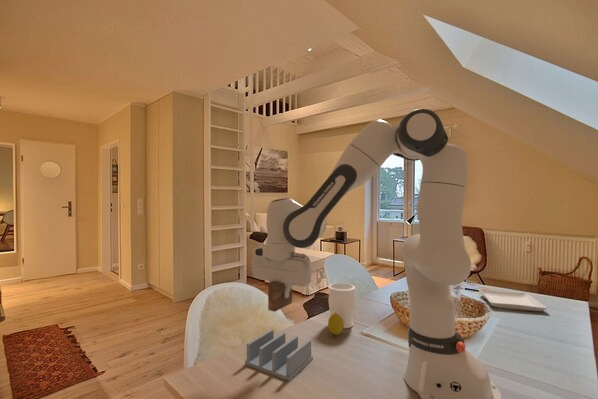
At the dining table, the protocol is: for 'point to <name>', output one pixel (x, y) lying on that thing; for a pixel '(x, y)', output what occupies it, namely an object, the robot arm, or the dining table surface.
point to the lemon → (335, 324)
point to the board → (277, 296)
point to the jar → (342, 302)
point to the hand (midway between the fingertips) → (280, 296)
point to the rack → (278, 355)
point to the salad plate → (512, 300)
